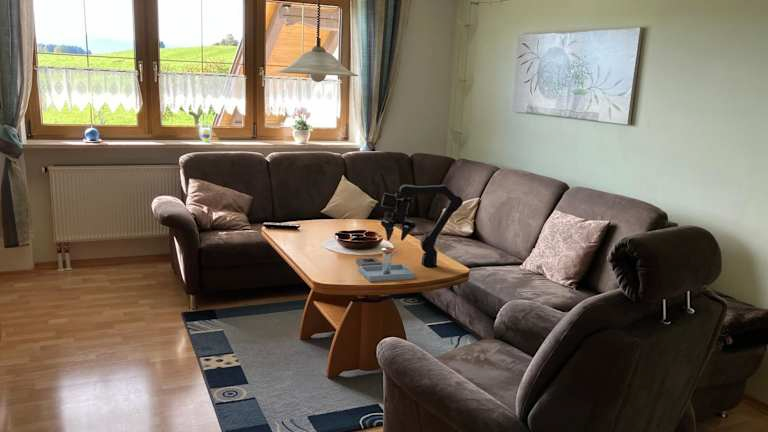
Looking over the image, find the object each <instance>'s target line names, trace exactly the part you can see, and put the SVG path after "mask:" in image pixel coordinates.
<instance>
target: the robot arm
mask: <svg viewBox="0 0 768 432" xmlns="http://www.w3.org/2000/svg"><path fill="white" fill-rule="evenodd" d="M436 194H437V195H438V194H440V195H441V194H443V195H444V196H445V197H446V198H447V199H448V200H447V203H446V206H445V208H444V210H443V212H442V213H441V215H440V217H439V218H438V220H437V221H436V223H435V224H434V226H433V227H432V229H431V230H430V232H428V233H424V234H423V235H422V238H420V242H419V243H420V245H419V246H420V248H421V250H422V251H423V254H422V257H421V266H423V267H424V268H426V269H427V268H437V267H439V266H438V265H437V261H438V251H437V249H436V248H435V245H436V241H437V239H438V236H439V235H440V233H441V232H442V230H443V229H444V227H445V226H446V224H447V223H448V222H449V220H450V219H451V216H452V215H453V214H455V212H457V211H458V210H459V209H460V208H461V207H462V205H463V204H464V203H463V202H464V201H463V198H462V197H461V196H460V195H459V194H457V193H454V192H452V190H450V189H449V187H448V186H447V185H446V184H439V185H437V184H435V185H420V186H419V185H417V186H416V185H413V184H402V185H400V187H399V189H398V190H397V192H395V193H394V194H390V193H388V192H384V193H383V196H382V199H381V204H380V205H381V207H383V208H387V209H388V208H389V209H393V208H395V207H396V208H395V210H393V212H390V211H388V210H387V211H384V212H383V218H384V219H382V220H380V226H382V227H383V228H384V229H385V235H386V241H387V242H389V241H390V239H391V237H392V235H393V233H394V230H395V228H394V227H395V226H397V227H399V226H401V229H402V231H401V236H400V241H404V240H405V239H406V237H407V236H408V234H410V232H411V231H413V230H414V229H416V226H417V224H416V222H415V221H412V220H410V219H407V217H408V216H409V213H408V211H409V205H410V204H414V201H413V199H412V198H413V197H415V196H419V195H436Z"/></svg>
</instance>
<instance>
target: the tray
mask: <svg viewBox="0 0 768 432" xmlns="http://www.w3.org/2000/svg"><path fill="white" fill-rule="evenodd" d="M382 265H383V264H382ZM382 265H374V266H358V273H359V274H361V276H363V277H364V279H366V280H367V281H368V282H369V283H370V282H382V281H383V282H385V281H401V280H414V279H415V277H416V276H415V275H416V274H415V272H414V271H412V270H411V269H410V268H408V267H407V266H406V265H405V264H403V263H395V264H394V263H393V264H392V263H391V274H387V275H383V274H382Z"/></svg>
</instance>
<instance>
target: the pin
mask: <svg viewBox="0 0 768 432" xmlns="http://www.w3.org/2000/svg"><path fill="white" fill-rule="evenodd" d="M381 252H382V274H383V275H387V274H391V264H392V254H393V252H394V248H393V247H391V246H384V247H382V248H381Z"/></svg>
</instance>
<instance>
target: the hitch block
mask: <svg viewBox="0 0 768 432" xmlns="http://www.w3.org/2000/svg"><path fill="white" fill-rule="evenodd" d="M355 263H356V265H357V266H358V267H359V266H374V265H383V261H380V259H378V258H376V257H359V258H358V257H357V258H356V259H355Z"/></svg>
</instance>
